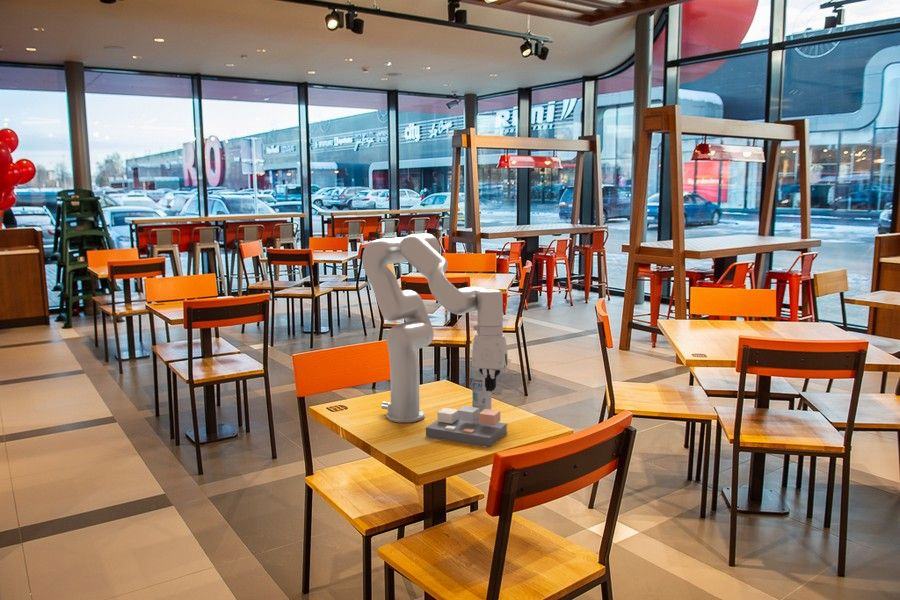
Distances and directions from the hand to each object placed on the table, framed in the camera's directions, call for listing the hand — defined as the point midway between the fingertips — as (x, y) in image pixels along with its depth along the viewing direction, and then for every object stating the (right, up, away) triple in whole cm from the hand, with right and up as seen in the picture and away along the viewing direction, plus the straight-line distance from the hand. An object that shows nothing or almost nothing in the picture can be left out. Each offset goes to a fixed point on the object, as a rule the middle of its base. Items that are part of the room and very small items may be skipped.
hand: (490, 390), depth 208 cm
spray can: (-2, -12, +21) cm, 24 cm away
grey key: (-6, -9, +5) cm, 12 cm away
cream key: (-13, -10, +8) cm, 18 cm away
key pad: (-7, -14, +4) cm, 16 cm away
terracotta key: (0, -10, +2) cm, 10 cm away
